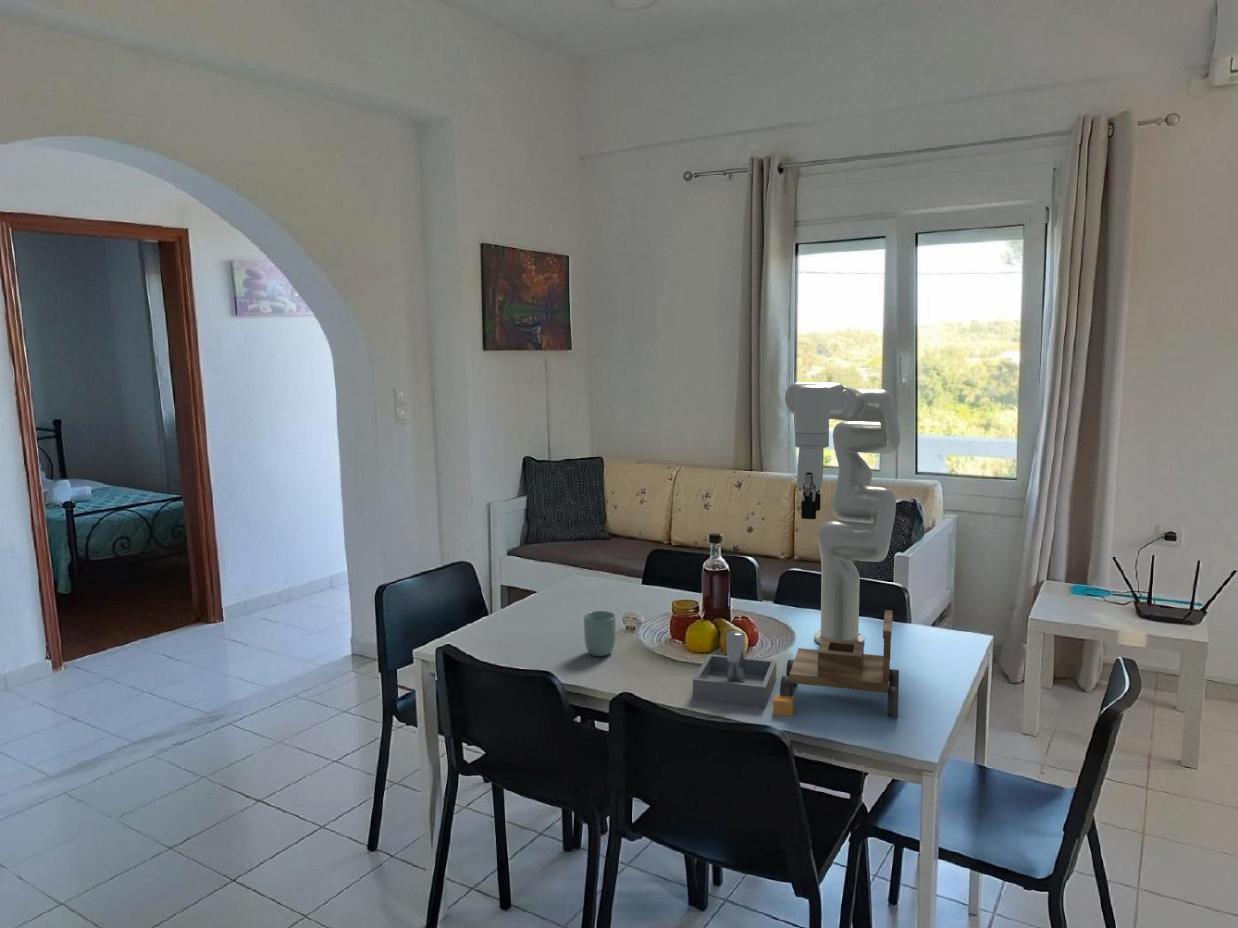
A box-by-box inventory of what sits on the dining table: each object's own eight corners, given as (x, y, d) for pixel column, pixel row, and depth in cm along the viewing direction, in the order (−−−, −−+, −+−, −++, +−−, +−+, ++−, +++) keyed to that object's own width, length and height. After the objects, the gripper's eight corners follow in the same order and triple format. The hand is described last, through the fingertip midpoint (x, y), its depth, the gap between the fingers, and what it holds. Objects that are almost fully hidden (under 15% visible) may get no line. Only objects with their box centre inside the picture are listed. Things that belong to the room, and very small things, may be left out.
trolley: (789, 680, 203) (790, 601, 200) (898, 691, 195) (900, 610, 192) (779, 708, 188) (780, 623, 185) (897, 721, 180) (899, 633, 177)
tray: (708, 672, 208) (708, 654, 208) (776, 679, 204) (776, 660, 203) (692, 698, 193) (692, 679, 193) (765, 707, 188) (765, 687, 188)
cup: (595, 646, 227) (594, 609, 226) (621, 651, 224) (620, 613, 222) (579, 655, 221) (578, 617, 219) (605, 661, 217) (604, 622, 215)
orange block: (775, 708, 188) (775, 694, 187) (794, 710, 187) (794, 696, 186) (773, 713, 185) (773, 700, 185) (792, 716, 184) (792, 702, 183)
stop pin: (728, 680, 201) (728, 629, 199) (746, 682, 200) (746, 631, 198) (725, 687, 197) (725, 635, 195) (743, 688, 196) (742, 637, 194)
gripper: (799, 435, 207) (798, 506, 210) (790, 444, 191) (789, 521, 194) (832, 435, 205) (831, 507, 207) (825, 445, 189) (824, 523, 191)
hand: (811, 514), depth 200 cm, fingers open, 9 cm apart
